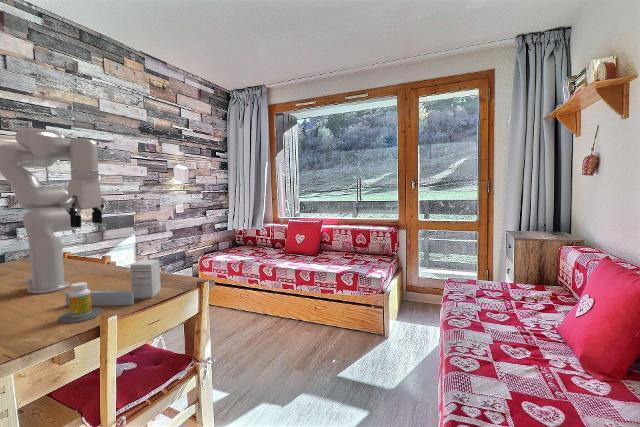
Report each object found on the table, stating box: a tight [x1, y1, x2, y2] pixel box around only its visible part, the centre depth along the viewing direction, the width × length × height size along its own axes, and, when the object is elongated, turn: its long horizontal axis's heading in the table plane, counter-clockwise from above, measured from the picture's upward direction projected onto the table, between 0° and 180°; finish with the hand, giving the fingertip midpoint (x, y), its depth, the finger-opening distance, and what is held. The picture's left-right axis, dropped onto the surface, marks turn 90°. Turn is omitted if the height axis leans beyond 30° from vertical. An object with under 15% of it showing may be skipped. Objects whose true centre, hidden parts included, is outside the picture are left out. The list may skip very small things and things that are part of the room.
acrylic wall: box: [64, 290, 135, 306], centre depth 105 cm, size 22×1×4 cm, turn 92°
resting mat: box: [57, 306, 103, 324], centre depth 96 cm, size 11×11×1 cm
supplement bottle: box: [68, 281, 92, 317], centre depth 96 cm, size 5×5×10 cm
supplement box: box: [129, 259, 162, 299], centre depth 114 cm, size 7×7×13 cm
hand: (87, 224), depth 107 cm, fingers open, 9 cm apart
